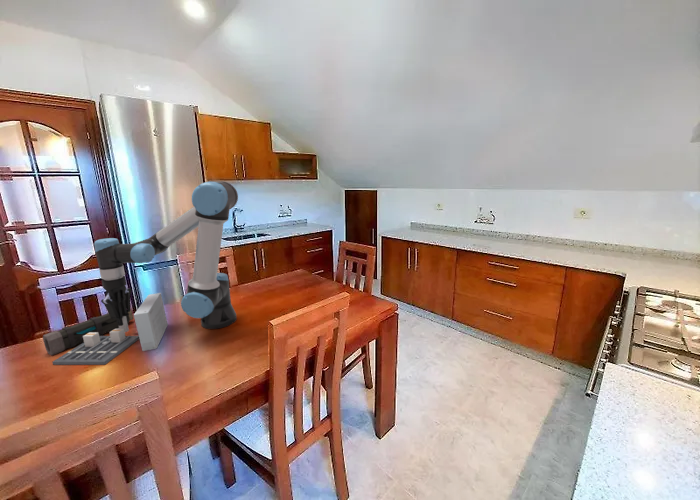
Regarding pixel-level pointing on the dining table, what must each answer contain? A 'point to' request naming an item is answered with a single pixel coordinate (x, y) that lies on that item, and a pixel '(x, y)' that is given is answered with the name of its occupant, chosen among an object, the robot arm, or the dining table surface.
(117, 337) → the fader
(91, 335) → the fader
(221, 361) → the dining table surface
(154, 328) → the skincare box
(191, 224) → the robot arm
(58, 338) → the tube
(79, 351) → the console
